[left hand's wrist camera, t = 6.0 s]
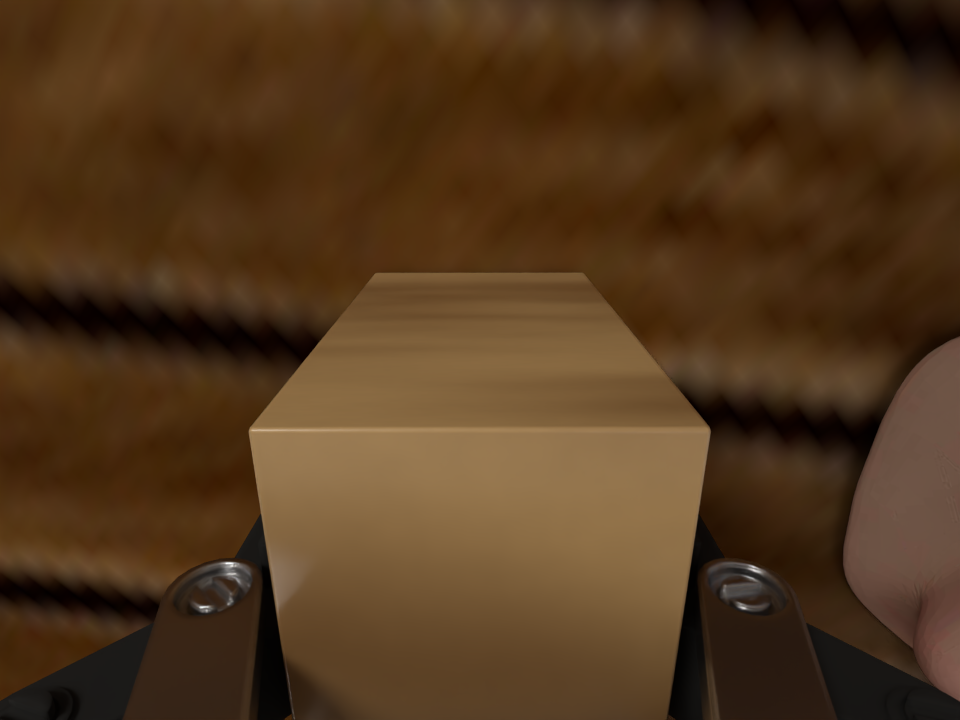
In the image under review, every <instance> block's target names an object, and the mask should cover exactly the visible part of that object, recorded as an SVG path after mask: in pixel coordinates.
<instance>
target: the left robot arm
mask: <svg viewBox="0 0 960 720" xmlns="http://www.w3.org/2000/svg"><path fill="white" fill-rule="evenodd" d="M290 714H292V712H291V706H290V699H289V693H288V686H287V680H286V673H285V666H284V660H283V653H282V647H281V640H280V634H279V627H278V621H277V614H276V607H275V601H274V594H273V588H272V581H271V575H270V568H269V561H268V555H267V548H266V542H265V535H264V529H263V522H262V515H261V514H260V516H259V518H258V519H257V521H256V523H255V524H254V526H253V528H252V529H251V531H250V533H249V535H248V536H247V538H246V540H245V541H244V543H243V545H242V546H241V548H240V550H239V551H238V553H237V555H236V557H235V558H224V559H217V560H213V561H209V562H205V563H203V564H201V565H198V566H196V567H194V568H191V569H190V570H188V571H187V572H185V573H184V574H182V575H180V576H179V577H178V578H177V579H176V580H175V581H174V582H173V583H172V584H171V585H170V586H169V587H168V588H167V590H166V592H165V594H164V596H163V597H162V600H161V604H160V607H159V610H158V613H157V616H156V619H155V622H154V623H152V624H150V625H148V626H146V627H144V628H142V629H140V630H138V631H136V632H134V633H132V634H130V635H128V636H126V637H124V638H122V639H120V640H118V641H116V642H114V643H112V644H110V645H108V646H106V647H104V648H102V649H101V650H99V651H97V652H95V653H93V654H91V655H89V656H87V657H85V658H83V659H81V660H79V661H77V662H75V663H73V664H71V665H69V666H67V667H65V668H63V669H61V670H59V671H57V672H55V673H53V674H51V675H49V676H47V677H45V678H43V679H41V680H39V681H37V682H35V683H33V684H31V685H29V686H27V687H25V688H23V689H21V690H19V691H17V692H15V693H13V694H12V695H10V696H8V697H6V698H5V699H3V700H1V701H0V720H285V718H286V717H287V716H289V715H290ZM668 714H669V715H670V716H672V717H673V718H675V720H960V701H958V700H956V699H955V698H953V697H951V696H950V695H948V694H946V693H945V692H943V691H941V690H939V689H937V688H935V687H933V686H931V685H929V684H927V683H925V682H923V681H921V680H919V679H917V678H915V677H913V676H911V675H909V674H907V673H905V672H903V671H901V670H899V669H897V668H895V667H893V666H891V665H889V664H887V663H885V662H883V661H881V660H879V659H877V658H875V657H873V656H871V655H869V654H867V653H865V652H863V651H861V650H859V649H857V648H855V647H853V646H851V645H849V644H847V643H845V642H843V641H841V640H839V639H837V638H835V637H833V636H831V635H829V634H827V633H825V632H823V631H821V630H819V629H817V628H815V627H813V626H811V625H809V624H807V623H806V622H805V619H804V616H803V613H802V610H801V607H800V604H799V600H798V597H797V596H796V594H795V592H794V590H793V588H792V587H791V586H790V585H789V584H788V583H787V582H786V581H785V580H784V579H783V578H782V577H781V576H780V575H778V574H776V573H775V572H773V571H772V570H770V569H769V568H766V567H764V566H762V565H759V564H757V563H755V562H751V561H747V560H743V559H736V558H725V557H724V556H723V554H722V552H721V551H720V549H719V547H718V546H717V544H716V542H715V541H714V539H713V537H712V536H711V534H710V532H709V531H708V529H707V527H706V525H705V524H704V522H703V520H702V519H701V517H700V515H699V514H698V520H697V526H696V533H695V539H694V546H693V553H692V559H691V566H690V573H689V579H688V586H687V593H686V599H685V606H684V613H683V619H682V626H681V633H680V639H679V646H678V653H677V659H676V666H675V673H674V679H673V686H672V692H671V699H670V706H669V712H668Z"/></svg>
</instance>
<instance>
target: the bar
mask: <svg viewBox="0 0 960 720" xmlns="http://www.w3.org/2000/svg"><path fill="white" fill-rule="evenodd" d="M710 433H711V430H710V427H709V426H708V425H707V423H706V422H705V421H704V420H703V419H702V417H701V416H700V415H699V414H698V412H697V411H696V410H695V409H694V408H693V406H692V405H691V404H690V403H689V401H688V400H687V399H686V398H685V397H684V395H683V394H682V393H681V392H680V390H679V389H678V388H677V387H676V385H675V384H674V383H673V382H672V381H671V379H670V378H669V377H668V376H667V374H666V373H665V372H664V371H663V370H662V368H661V367H660V366H659V365H658V363H657V362H656V361H655V360H654V359H653V357H652V356H651V355H650V354H649V352H648V351H647V350H646V349H645V348H644V346H643V345H642V344H641V343H640V341H639V340H638V339H637V338H636V337H635V335H634V334H633V333H632V332H631V330H630V329H629V328H628V327H627V326H626V324H625V323H624V322H623V321H622V319H621V318H620V317H619V316H618V315H617V313H616V312H615V311H614V310H613V308H612V307H611V306H610V305H609V304H608V302H607V301H606V300H605V299H604V297H603V296H602V295H601V294H600V293H599V291H598V290H597V289H596V288H595V286H594V285H593V284H592V283H591V282H590V280H589V279H588V278H587V277H586V275H585V274H584V273H375V274H374V276H373V277H372V278H371V279H370V280H369V282H368V283H367V284H366V285H365V287H364V288H363V289H362V290H361V292H360V293H359V294H358V295H357V297H356V298H355V299H354V300H353V301H352V303H351V304H350V305H349V306H348V308H347V309H346V310H345V311H344V313H343V314H342V315H341V316H340V317H339V319H338V320H337V321H336V322H335V324H334V325H333V326H332V327H331V329H330V330H329V331H328V332H327V333H326V335H325V336H324V337H323V338H322V340H321V341H320V342H319V343H318V345H317V346H316V347H315V348H314V349H313V351H312V352H311V353H310V354H309V356H308V357H307V358H306V359H305V361H304V362H303V363H302V364H301V365H300V367H299V368H298V369H297V370H296V372H295V373H294V374H293V375H292V377H291V378H290V379H289V380H288V381H287V383H286V384H285V385H284V386H283V388H282V389H281V390H280V391H279V393H278V394H277V395H276V396H275V398H274V399H273V400H272V401H271V402H270V404H269V405H268V406H267V407H266V409H265V410H264V411H263V412H262V414H261V415H260V416H259V417H258V418H257V420H256V421H255V422H254V423H253V425H252V426H251V427H250V429H249V437H250V443H251V450H252V456H253V463H254V469H255V476H256V483H257V489H258V496H259V502H260V509H261V515H262V522H263V529H264V535H265V542H266V548H267V555H268V561H269V568H270V575H271V581H272V588H273V594H274V601H275V607H276V614H277V621H278V627H279V634H280V640H281V647H282V653H283V660H284V666H285V673H286V680H287V686H288V693H289V699H290V706H291V712H292V719H293V720H667V719H668V712H669V706H670V699H671V692H672V686H673V679H674V673H675V666H676V659H677V653H678V646H679V639H680V633H681V626H682V619H683V613H684V606H685V599H686V593H687V586H688V579H689V573H690V566H691V559H692V553H693V546H694V539H695V533H696V526H697V520H698V513H699V506H700V500H701V493H702V486H703V480H704V473H705V466H706V460H707V453H708V446H709V440H710Z"/></svg>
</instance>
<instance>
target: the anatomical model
mask: <svg viewBox="0 0 960 720" xmlns="http://www.w3.org/2000/svg"><path fill="white" fill-rule="evenodd" d="M843 567H844V572H845V576H846V579H847V582H848V584H849V586H850V588H851V589H852V591H853V592H854V594H855V595H856V596H857V598H858V599H859V600H860V601H861V602H862V603H863V605H864V606H865V607H866V608H867V609H868V610H869V611H870V612H871V613H872V614H874V615H875V616H876V617H877V618H878V619H879V620H880V621H881V622H882V623H883V624H884V625H885V626H886V627H888V628H889V629H890V630H891V631H892V632H893V633H895V634H896V635H897V636H898V637H899V638H900V639H902V640H903V641H904V642H905V643H907V644H908V645H909V646H910V647H912V648H913V651H914V655H915V658H916V660H917V662H918V665H919V667H920V668H921V670H922V672H923V673H924V675H925V676H926V677H927V678H928V679H929V681H930V682H931V683H932V684H933V685H934V686H935V687H936V688H938V689H939V690H941V691H943V692H945V693H946V694H948V695H950V696H951V697H953V698H955V699H956V700H958V701H960V337H957V338H955V339H952V340H950V341H948V342H946V343H945V344H943V345H941V346H940V347H938V348H936V349H935V350H933V351H932V352H930V353H929V354H928V355H927V356H925V357H924V358H923V359H922V360H921V361H920V362H919V363H918V364H917V365H916V366H915V367H914V368H913V369H912V371H911V372H910V373H909V374H908V375H907V377H906V378H905V380H904V381H903V383H902V384H901V386H900V387H899V388H898V390H897V392H896V394H895V396H894V398H893V400H892V402H891V404H890V405H889V407H888V409H887V411H886V413H885V415H884V417H883V419H882V421H881V424H880V426H879V429H878V431H877V434H876V437H875V439H874V442H873V444H872V447H871V450H870V452H869V455H868V457H867V460H866V462H865V465H864V468H863V470H862V473H861V475H860V478H859V480H858V483H857V487H856V490H855V494H854V498H853V501H852V506H851V511H850V516H849V521H848V526H847V531H846V536H845V541H844V546H843Z"/></svg>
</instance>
